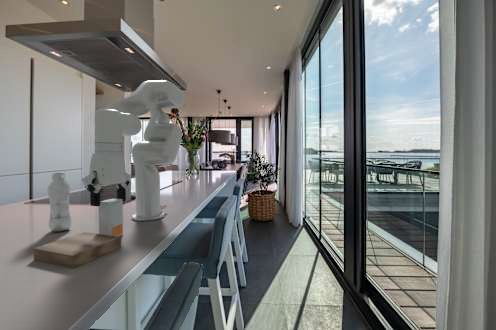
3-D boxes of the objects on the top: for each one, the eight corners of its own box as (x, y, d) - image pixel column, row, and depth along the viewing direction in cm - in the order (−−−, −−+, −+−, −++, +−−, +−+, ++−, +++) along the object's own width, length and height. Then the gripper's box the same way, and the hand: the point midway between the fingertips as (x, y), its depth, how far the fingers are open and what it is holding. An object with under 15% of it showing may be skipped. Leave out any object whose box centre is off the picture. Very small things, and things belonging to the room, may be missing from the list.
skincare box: (110, 240, 79) (109, 202, 78) (98, 239, 80) (97, 201, 79) (123, 234, 85) (123, 198, 84) (112, 233, 86) (111, 198, 85)
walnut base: (85, 241, 78) (84, 231, 78) (120, 247, 73) (120, 237, 73) (33, 259, 65) (33, 248, 65) (73, 268, 60) (72, 255, 60)
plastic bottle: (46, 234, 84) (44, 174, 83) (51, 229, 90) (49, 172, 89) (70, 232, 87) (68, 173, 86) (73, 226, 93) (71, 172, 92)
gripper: (121, 150, 90) (121, 198, 90) (73, 148, 74) (74, 207, 74) (138, 150, 87) (138, 200, 88) (92, 148, 71) (93, 209, 71)
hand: (109, 203), depth 81 cm, fingers open, 9 cm apart
